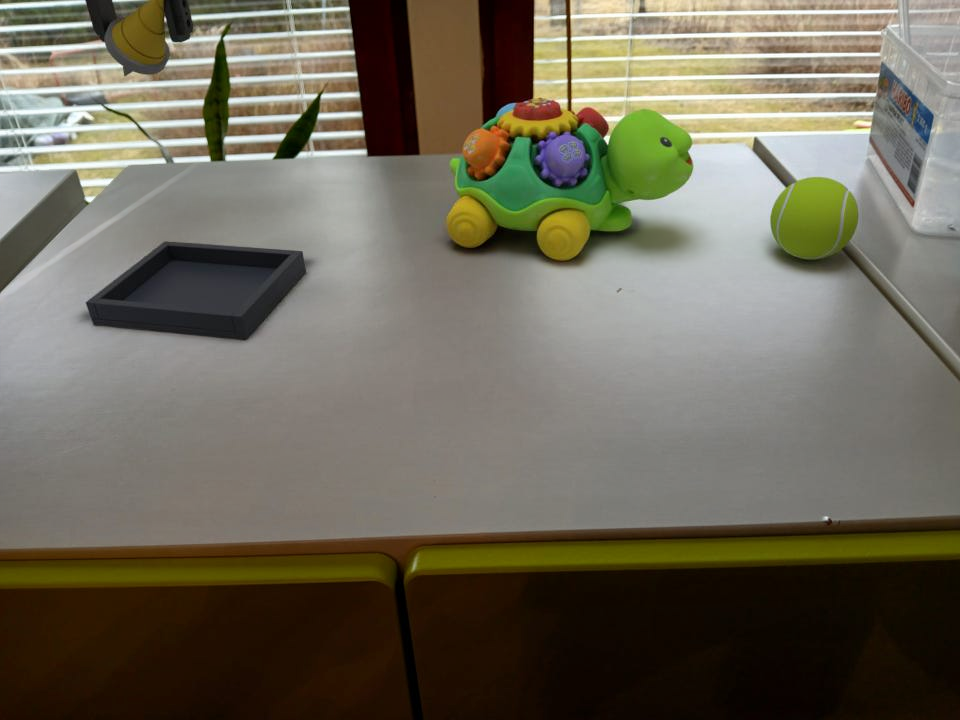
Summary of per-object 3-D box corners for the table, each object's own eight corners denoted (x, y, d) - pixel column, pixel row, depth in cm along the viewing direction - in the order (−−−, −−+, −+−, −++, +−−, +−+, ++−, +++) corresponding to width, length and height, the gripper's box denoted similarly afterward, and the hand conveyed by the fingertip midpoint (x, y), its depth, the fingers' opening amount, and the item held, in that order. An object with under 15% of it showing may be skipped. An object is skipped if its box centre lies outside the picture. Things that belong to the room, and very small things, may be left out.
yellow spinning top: (162, 66, 76) (200, -8, 69) (148, 104, 73) (186, 30, 66) (105, 35, 73) (138, -45, 67) (87, 73, 71) (121, -7, 64)
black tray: (92, 324, 64) (84, 302, 63) (170, 261, 73) (164, 240, 72) (246, 339, 61) (241, 316, 60) (306, 272, 71) (302, 250, 70)
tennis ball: (853, 247, 71) (871, 171, 67) (842, 279, 66) (861, 200, 62) (773, 233, 74) (786, 160, 70) (756, 264, 69) (769, 187, 65)
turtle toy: (670, 281, 67) (685, 144, 60) (418, 248, 74) (408, 122, 68) (696, 206, 80) (711, 87, 74) (480, 184, 87) (477, 74, 81)
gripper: (196, -190, 63) (239, 32, 73) (39, -181, 66) (100, 32, 75) (145, -192, 57) (198, 51, 66) (-26, -182, 60) (48, 49, 69)
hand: (146, 40), depth 71 cm, fingers closed on yellow spinning top, 6 cm apart
